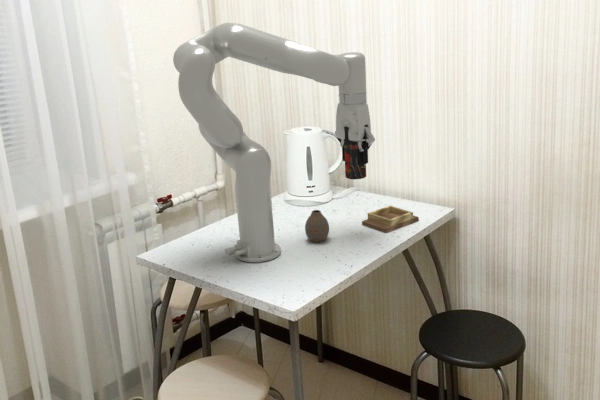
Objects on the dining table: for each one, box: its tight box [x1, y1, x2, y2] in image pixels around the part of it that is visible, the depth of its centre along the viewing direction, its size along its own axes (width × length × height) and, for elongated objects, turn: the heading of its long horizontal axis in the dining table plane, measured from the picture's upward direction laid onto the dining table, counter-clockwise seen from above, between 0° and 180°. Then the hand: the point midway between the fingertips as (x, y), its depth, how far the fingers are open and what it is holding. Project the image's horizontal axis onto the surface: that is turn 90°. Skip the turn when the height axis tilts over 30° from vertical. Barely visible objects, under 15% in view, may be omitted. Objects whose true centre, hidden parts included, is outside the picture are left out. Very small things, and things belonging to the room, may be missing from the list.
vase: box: [304, 209, 330, 243], centre depth 189 cm, size 7×7×9 cm
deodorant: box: [344, 126, 367, 180], centre depth 186 cm, size 6×6×15 cm
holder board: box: [361, 205, 420, 234], centre depth 199 cm, size 14×10×3 cm
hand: (355, 161), depth 187 cm, fingers closed on deodorant, 5 cm apart
